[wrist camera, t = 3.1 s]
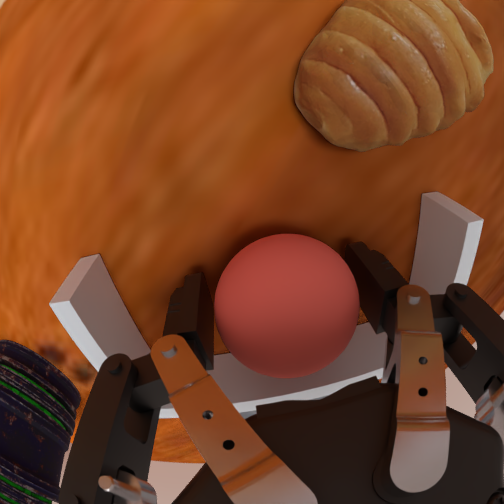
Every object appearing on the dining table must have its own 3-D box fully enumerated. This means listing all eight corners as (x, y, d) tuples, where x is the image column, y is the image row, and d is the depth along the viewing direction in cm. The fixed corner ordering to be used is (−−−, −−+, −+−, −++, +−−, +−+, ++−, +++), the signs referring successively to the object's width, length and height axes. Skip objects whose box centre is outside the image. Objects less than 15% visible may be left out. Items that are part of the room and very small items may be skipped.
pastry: (349, 183, 11) (395, 217, 8) (245, 61, 8) (256, 35, 5) (464, 85, 9) (517, 93, 5) (394, -23, 6) (440, -44, 3)
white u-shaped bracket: (437, 191, 11) (483, 219, 8) (413, 319, 16) (437, 355, 13) (80, 258, 11) (48, 303, 8) (148, 373, 16) (141, 418, 13)
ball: (329, 201, 11) (397, 273, 6) (331, 299, 14) (370, 382, 9) (201, 225, 11) (188, 317, 6) (228, 320, 14) (234, 413, 9)
